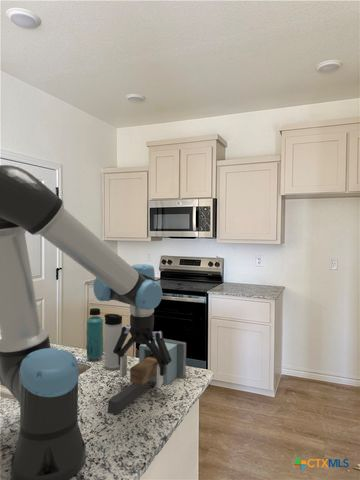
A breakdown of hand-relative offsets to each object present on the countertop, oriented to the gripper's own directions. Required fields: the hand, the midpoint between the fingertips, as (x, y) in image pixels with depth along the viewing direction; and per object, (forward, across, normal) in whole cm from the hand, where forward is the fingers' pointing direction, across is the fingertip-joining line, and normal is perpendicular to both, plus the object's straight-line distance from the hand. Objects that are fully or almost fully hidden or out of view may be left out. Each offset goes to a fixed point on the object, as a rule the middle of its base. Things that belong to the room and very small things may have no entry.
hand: (141, 380), depth 105 cm
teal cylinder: (+4, +30, -13) cm, 33 cm away
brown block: (0, 0, -4) cm, 4 cm away
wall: (+3, 0, -15) cm, 16 cm away
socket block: (+3, 0, -11) cm, 11 cm away
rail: (+3, 0, +6) cm, 7 cm away
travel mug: (+4, +19, -10) cm, 22 cm away
